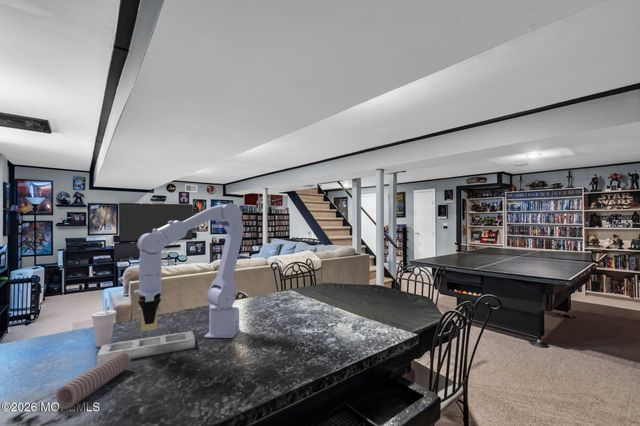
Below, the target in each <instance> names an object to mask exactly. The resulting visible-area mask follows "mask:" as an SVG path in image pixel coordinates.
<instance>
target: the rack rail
mask: <svg viewBox="0 0 640 426" xmlns="http://www.w3.org/2000/svg"><path fill="white" fill-rule="evenodd" d="M195 347H196V339H195V335H194V332H193V330H189V331H188V330H187V331H182V332H176V333H170V334H164V335H158V336H151V337H144V338H137V339H131V340H125V341H118V342H111V344H104V345H102V346H101V347H99V348H100V349H99V350H98V352H97V355H96V356H97V357H96V358H97V359H96V366H97V365H99V364H100V363H102V362H104V361H105V360H107V359H109V358H110V357H112V356H114V355H115V354H117V353H119V352H125V353H127V354H128V355H129V357H130V360H131V359H132V360H133V359H137V358H143V357H148V356H153V355H154V356H155V355H160V354H165V353H171V352H177V351H182V350H187V349H193V348H195Z"/></svg>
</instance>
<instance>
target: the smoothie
mask: <svg viewBox="0 0 640 426" xmlns="http://www.w3.org/2000/svg"><path fill="white" fill-rule="evenodd" d="M104 301H105V302H104V310H100V311H97V312H94V313H92V314H91V317H90V318H91V320H92V325H93V332H94V334H93V335H94V341H95V346H96V348H101V346H102V345H104V344H111V343H112V337H113V330H114V325H115V324H114V323H115V319H116V316H117V311H116V310H113V309H111V310H109V309H108V298H106V297H105V299H104Z"/></svg>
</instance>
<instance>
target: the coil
mask: <svg viewBox="0 0 640 426" xmlns="http://www.w3.org/2000/svg"><path fill="white" fill-rule="evenodd" d="M130 364H131V359H130V357H129V355H128V354H127V353H125V352H119V353H117V354H115V355H114V356H112V357H110V358H109V359H107V360H105V361H104V362H102V363H100V364H99V365H97V364H96V365H95V366H94V367H92V368H90V369H88V370H87V371H85V372H84V373H81V374H80V375H79V376H77V377H75V378H73V379H72V380H70V381H69V382H66V383H65V384H64V385H61V386H60V387H59V388H58V389H57V392H56V395H55V397H56V398H55V399H56V401H57V402H58V404H59V405H60V406H59V407H58V410H59V409H66V410H70V409H72V408H73V407H74V406H76V405H77V404H78V403H80V402H82V401H83V400H84V399H85V398H87V397H89V396H90V395H92V393H94V392H96V391H97V390H99V389H100V388H102V387H103V386H104V385H105V384H107V383H108V382H110V381H112V380H113V379H114V378H116V377H117V376H118V375H120V374H121V373H123V372H124V371H125V370H127V369H128V368H129V366H131V365H130ZM69 408H70V409H69Z"/></svg>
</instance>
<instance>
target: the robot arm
mask: <svg viewBox="0 0 640 426" xmlns="http://www.w3.org/2000/svg"><path fill="white" fill-rule="evenodd" d="M242 215H243V211H242V210H241V209H240V207H239V206H238V205H237V204H236V203H233V202H230V203H225V204H224V203H223V204H216V205H214V206H210V207H208V208H205V209H204V210H202V211H200V212H197V213H195V214H194V215H193V216H191V217H189V218H186V219H185V220H182V221H181V220H169V221H167V224H165V225H163V226H161V227H159V228H155V227H154V228H153V229H152V232H146V233H144V234H142V235H141V236H140V237H139V238H138V241H137V243H136V246H137V249H138V250H139V260H138V263H139V264H138V289H135V290H133V294H134V295H136V294H137V295H139V297H138V298H139V299H138V301H137V302H138V305H139V306H140V308H142V311H143V316H144V321H145V324H153V323H154V320H155V316H156V311H157V307H158V306H160V304H161V301H162V298H160V297H161V296H162V295H161V294H162V293H161V292H162V291H163V290H162V289H163V288H162V259H163V258H162V250H164V248H165V247H167V246H169V245H171V244H173V243H175V242H177V241H179V240H181V239H183V238H184V237H186V235H187V233H188V231H190V230H192V229H194V228H196V227H199V226H200V225H202V224H205V223H207V222H209V221H215V222H217V224H219V225H221V226H222V228H223V229H224V230H225V231H226V236H225V242H224V243H223V244H224V245H223V249H222V252H221V254H222V255H221V258H220V260H219V261H220V262H219V266H218V270H217V274H216V277H215V279H213V280H212V283H211V285H210V288H208V290H207V291H206V294H205V295H206V300H207V301H208V303H209V307H208V308H209V309H208V310H209V315H208V319H209V320H208V321H209V322H208V323H209V325H208V326H209V327H208V330H209V331H208V332H207V333H206V334H204V336H203V337H204V338H206V339H207V338H213V339H214V338H215V339H216V338H217V339H220V338H224V339H228V338H229V339H231V338H234V337H235V336H236V335H237V334H238V332H240V309H239V307H237V306H236V307H234V306H233V305H234V303H235V301H236V294H235V291H236V290H235V289H236V285H235V282H234V280H233V279H234V275H235V271H236V266H237V261H238V257H239V254H240V253H239V252H240V249H241V244H242V241H243V235H244V230H245V229H244V227H245V226H244V223H243V219H242ZM157 312H158V311H157Z"/></svg>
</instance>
